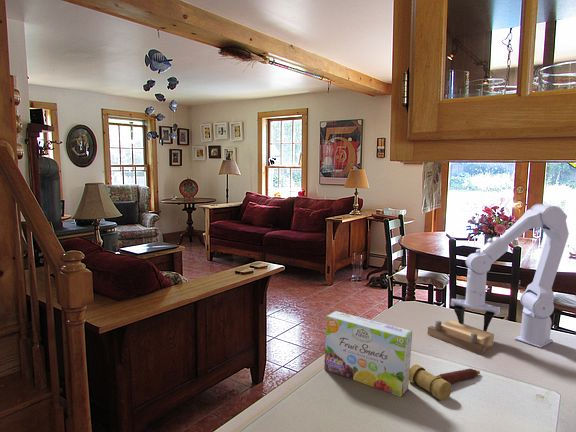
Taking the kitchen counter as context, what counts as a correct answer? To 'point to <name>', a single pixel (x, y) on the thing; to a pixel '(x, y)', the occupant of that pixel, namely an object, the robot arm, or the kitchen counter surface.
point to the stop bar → (456, 339)
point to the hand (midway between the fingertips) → (472, 330)
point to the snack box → (368, 352)
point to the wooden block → (469, 332)
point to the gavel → (439, 380)
